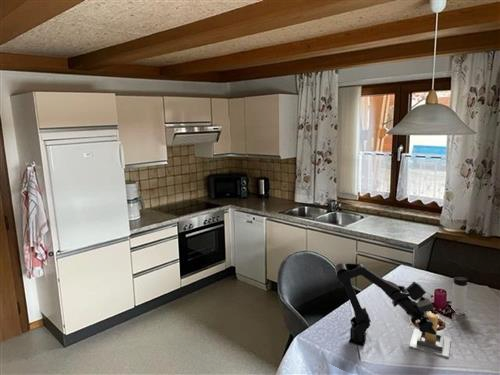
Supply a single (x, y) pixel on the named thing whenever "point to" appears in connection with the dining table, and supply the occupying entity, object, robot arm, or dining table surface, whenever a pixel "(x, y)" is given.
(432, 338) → the rounded tan peg
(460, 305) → the travel mug
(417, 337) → the socket
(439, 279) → the dining table surface
